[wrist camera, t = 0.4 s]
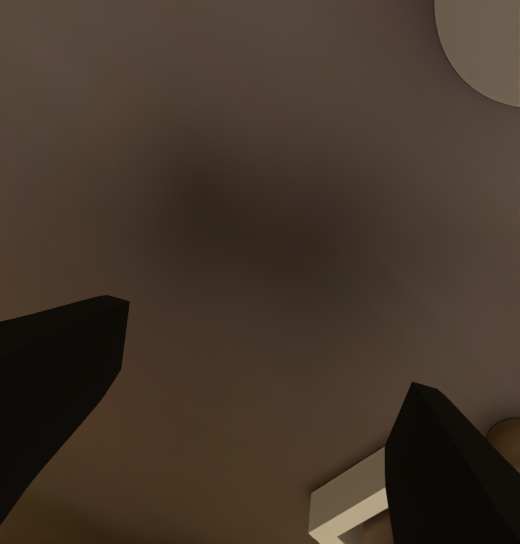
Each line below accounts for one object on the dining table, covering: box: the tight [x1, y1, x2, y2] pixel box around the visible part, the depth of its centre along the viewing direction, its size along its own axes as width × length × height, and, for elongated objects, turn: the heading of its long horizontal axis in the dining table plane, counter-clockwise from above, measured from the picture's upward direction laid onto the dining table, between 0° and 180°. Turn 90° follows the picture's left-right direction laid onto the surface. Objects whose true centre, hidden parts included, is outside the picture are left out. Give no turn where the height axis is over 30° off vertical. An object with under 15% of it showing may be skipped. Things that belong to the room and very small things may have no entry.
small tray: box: [308, 447, 388, 544], centre depth 22 cm, size 8×7×2 cm
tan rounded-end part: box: [363, 418, 520, 544], centre depth 20 cm, size 9×4×6 cm, turn 136°
